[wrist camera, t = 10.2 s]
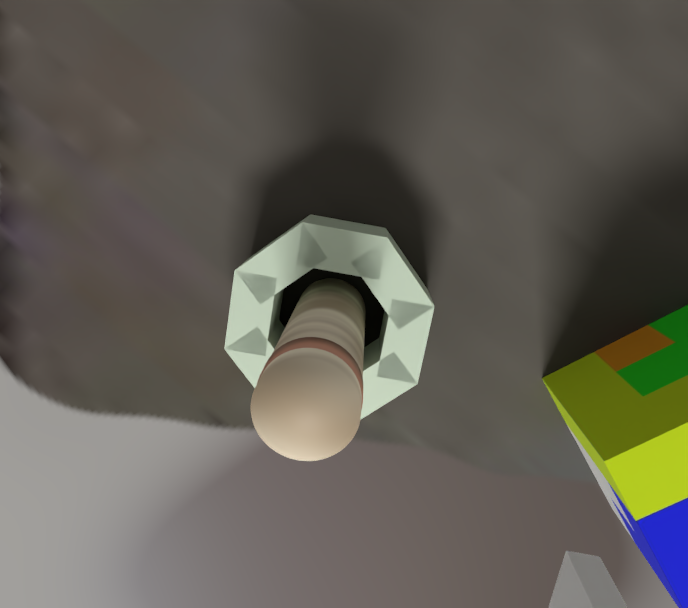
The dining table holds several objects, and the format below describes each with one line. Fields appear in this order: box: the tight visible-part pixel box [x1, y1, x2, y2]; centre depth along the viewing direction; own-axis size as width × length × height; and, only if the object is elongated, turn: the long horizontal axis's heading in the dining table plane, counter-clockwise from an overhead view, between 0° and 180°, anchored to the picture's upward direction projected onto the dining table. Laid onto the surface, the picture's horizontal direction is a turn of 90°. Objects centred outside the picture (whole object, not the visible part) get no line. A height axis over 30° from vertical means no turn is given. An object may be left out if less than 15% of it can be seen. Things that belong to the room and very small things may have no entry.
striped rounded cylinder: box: [251, 278, 366, 461], centre depth 29 cm, size 4×4×14 cm
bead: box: [224, 214, 434, 420], centre depth 33 cm, size 10×10×4 cm
